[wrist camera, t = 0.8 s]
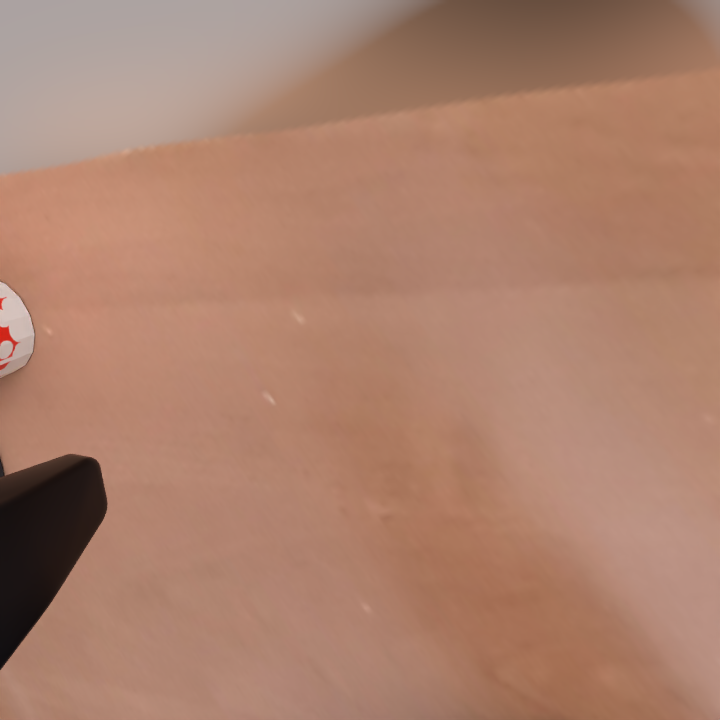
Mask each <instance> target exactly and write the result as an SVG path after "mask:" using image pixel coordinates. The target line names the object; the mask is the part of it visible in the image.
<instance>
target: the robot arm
mask: <svg viewBox="0 0 720 720" xmlns="http://www.w3.org/2000/svg"><path fill="white" fill-rule="evenodd" d="M106 511H107V497H106V492H105V487H104V483H103V478H102V473H101V468H100V465H99V463H98V462H97V460H96V459H94V458H92V457H87V456H81V455H76V454H68V455H65V456H62V457H59V458H56V459H53V460H50V461H47V462H44V463H41V464H38V465H35V466H33V467H30V468H27V469H24V470H21V471H18V472H15V473H12V474H9V475H6V476H3V477H0V670H1V669H2V667H3V666H4V665H5V663H6V662H7V661H8V659H9V658H10V657H11V656H12V654H13V653H14V652H15V650H16V649H17V648H18V646H19V645H20V644H21V642H22V641H23V640H24V638H25V637H26V636H27V634H28V633H29V632H30V631H31V629H32V628H33V627H34V625H35V624H36V623H37V621H38V620H39V619H40V617H41V616H42V614H43V613H44V612H45V610H46V609H47V608H48V606H49V605H50V603H51V602H52V600H53V599H54V597H55V596H56V594H57V593H58V591H59V589H60V588H61V586H62V585H63V583H64V581H65V580H66V578H67V577H68V575H69V573H70V572H71V570H72V569H73V567H74V565H75V564H76V562H77V561H78V559H79V557H80V556H81V554H82V553H83V551H84V549H85V548H86V546H87V545H88V543H89V542H90V540H91V538H92V537H93V535H94V534H95V532H96V530H97V529H98V527H99V526H100V524H101V522H102V521H103V519H104V517H105V514H106Z"/></svg>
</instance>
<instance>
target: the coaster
mask: <svg viewBox="0 0 720 720" xmlns="http://www.w3.org/2000/svg"><path fill="white" fill-rule="evenodd" d="M3 476H4V473H3V468H2V464H1V461H0V477H3Z"/></svg>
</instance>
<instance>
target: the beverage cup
mask: <svg viewBox="0 0 720 720" xmlns="http://www.w3.org/2000/svg"><path fill="white" fill-rule="evenodd" d="M34 335H35V334H34V330H33V326H32V322H31V318H30V314H29V313H28V311H27V309H26V307H25V306H24V304H23V302H22V300H21V299H20V297H19V296H18V295H17V294H16V293H15V292H14V291H12V290H11V289H10V288H9V287H8V286H7V285H6V284H5V283H2V282H0V378H2V377H4V376H6V375H8V374H11V373H13V372H15V371H16V370H18V369H20V368H21V367H23V366H25V365H26V363H27V362H28V360H29V358H30V356H31V354H32V353H33V346H34Z"/></svg>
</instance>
